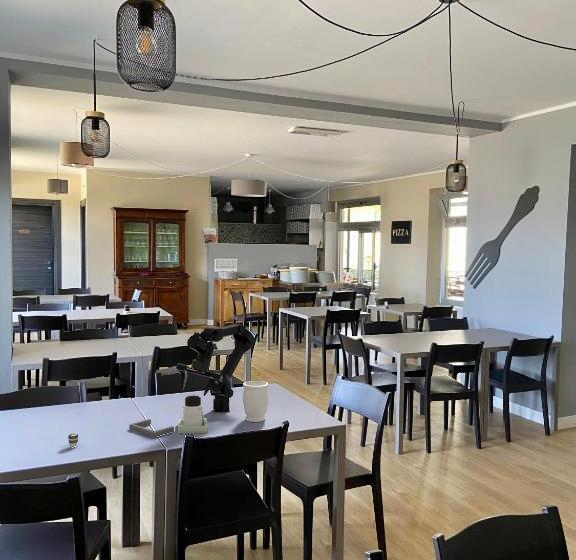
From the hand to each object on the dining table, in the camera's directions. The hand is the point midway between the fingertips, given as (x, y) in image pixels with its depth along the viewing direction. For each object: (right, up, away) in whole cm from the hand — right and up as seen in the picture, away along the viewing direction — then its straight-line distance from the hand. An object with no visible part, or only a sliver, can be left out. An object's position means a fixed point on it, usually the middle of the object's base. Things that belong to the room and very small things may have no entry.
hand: (193, 393), depth 228 cm
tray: (+1, -12, -8) cm, 15 cm away
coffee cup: (-37, -13, -30) cm, 49 cm away
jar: (+25, -12, +5) cm, 28 cm away
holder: (-14, -12, -12) cm, 22 cm away
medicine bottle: (+1, -12, -8) cm, 14 cm away
